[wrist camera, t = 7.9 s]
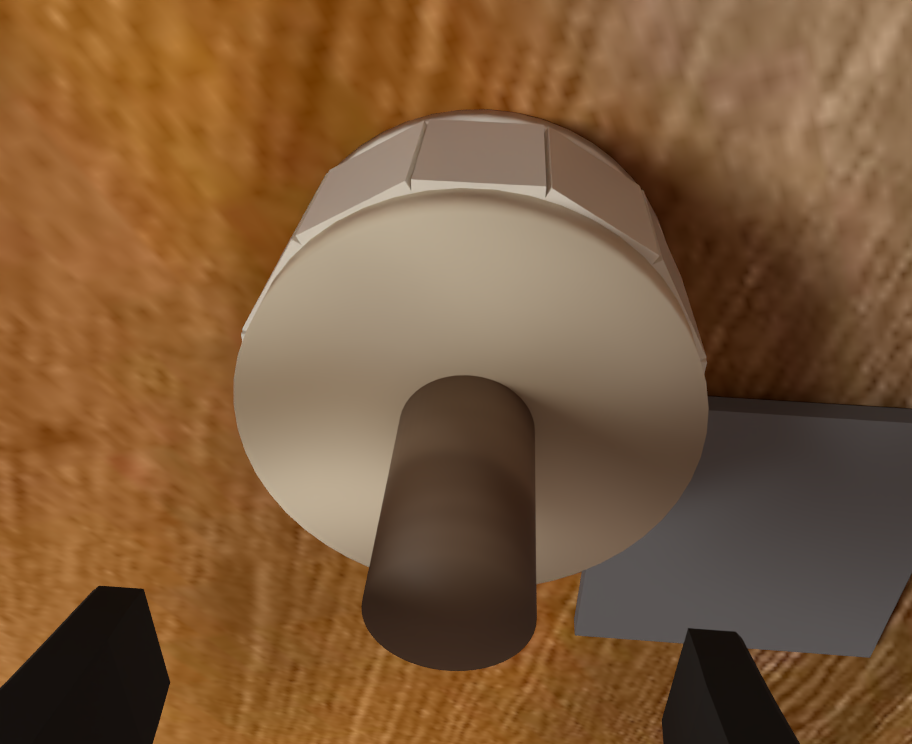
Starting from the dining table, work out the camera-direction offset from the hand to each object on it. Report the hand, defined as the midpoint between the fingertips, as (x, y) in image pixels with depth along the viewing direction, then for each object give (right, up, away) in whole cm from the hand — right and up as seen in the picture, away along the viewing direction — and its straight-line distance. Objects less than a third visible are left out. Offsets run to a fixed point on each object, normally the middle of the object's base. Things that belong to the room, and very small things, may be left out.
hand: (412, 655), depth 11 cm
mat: (+9, -1, +12) cm, 15 cm away
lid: (+1, +3, +5) cm, 7 cm away
